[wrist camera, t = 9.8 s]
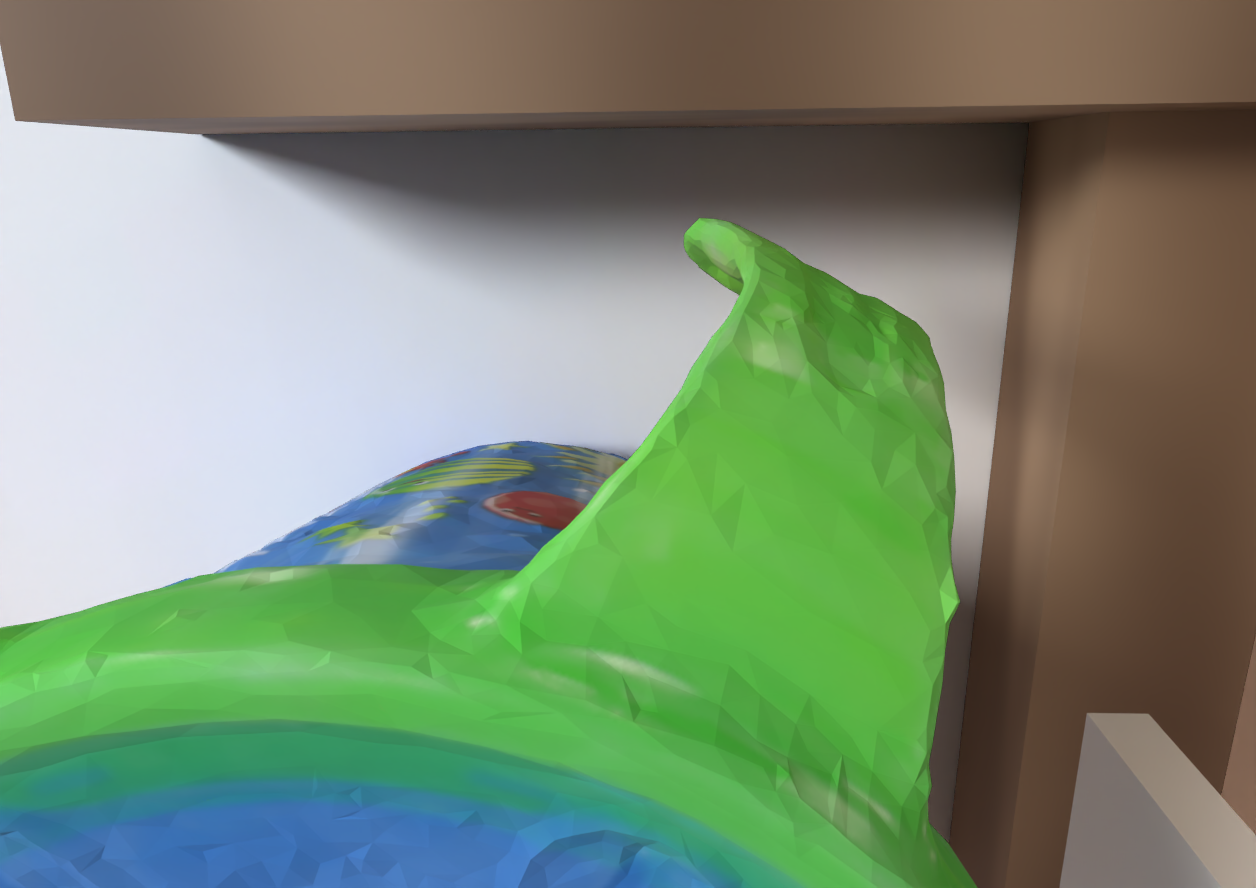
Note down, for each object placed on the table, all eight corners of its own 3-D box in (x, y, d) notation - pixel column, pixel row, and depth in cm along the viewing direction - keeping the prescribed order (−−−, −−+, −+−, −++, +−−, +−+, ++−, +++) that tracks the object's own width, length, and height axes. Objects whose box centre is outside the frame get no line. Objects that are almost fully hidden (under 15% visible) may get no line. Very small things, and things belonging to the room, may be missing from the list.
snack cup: (528, 53, 13) (148, -265, 4) (1073, 446, 15) (1875, 992, 5) (96, 779, 17) (-627, 1553, 8) (554, 1032, 19) (430, 1961, 9)
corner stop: (297, 839, 18) (194, 1026, 14) (170, -49, 13) (-37, -140, 9) (1110, 855, 17) (1240, 1056, 13) (1273, -75, 12) (1545, -184, 9)
